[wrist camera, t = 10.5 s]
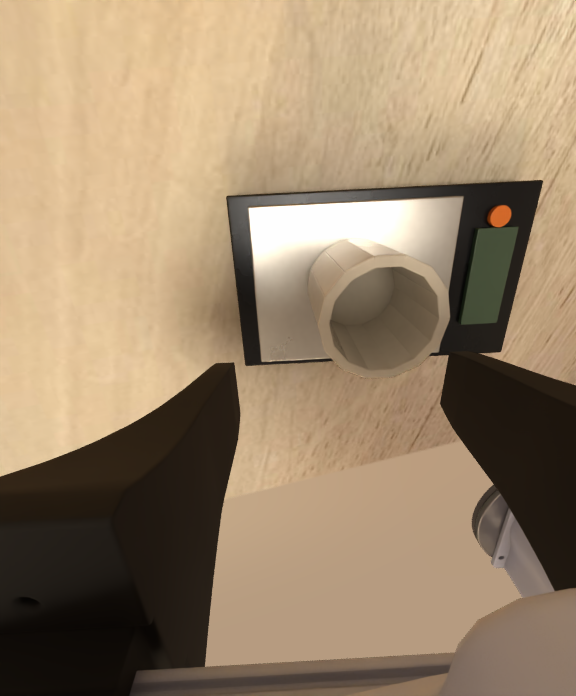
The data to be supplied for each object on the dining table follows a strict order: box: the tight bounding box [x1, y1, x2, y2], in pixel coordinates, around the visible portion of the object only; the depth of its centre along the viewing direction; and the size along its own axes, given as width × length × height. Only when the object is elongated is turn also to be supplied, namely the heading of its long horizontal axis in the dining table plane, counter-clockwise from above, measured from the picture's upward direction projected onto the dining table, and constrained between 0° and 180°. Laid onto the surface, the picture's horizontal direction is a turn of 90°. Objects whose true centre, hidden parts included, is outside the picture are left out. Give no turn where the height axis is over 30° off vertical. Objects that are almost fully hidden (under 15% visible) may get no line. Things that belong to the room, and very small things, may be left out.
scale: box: [226, 180, 543, 366], centre depth 18 cm, size 9×15×3 cm, turn 93°
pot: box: [307, 238, 450, 379], centre depth 14 cm, size 5×5×6 cm
